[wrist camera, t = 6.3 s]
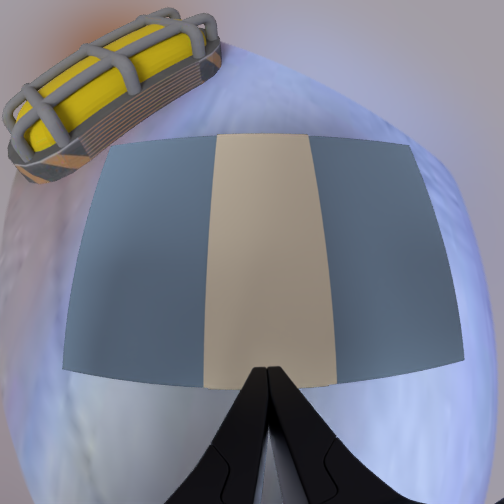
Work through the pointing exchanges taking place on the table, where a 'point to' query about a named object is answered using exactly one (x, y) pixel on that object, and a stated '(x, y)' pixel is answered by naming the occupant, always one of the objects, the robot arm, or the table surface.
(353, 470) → the robot arm
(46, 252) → the table surface
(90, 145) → the cage light
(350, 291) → the lid
